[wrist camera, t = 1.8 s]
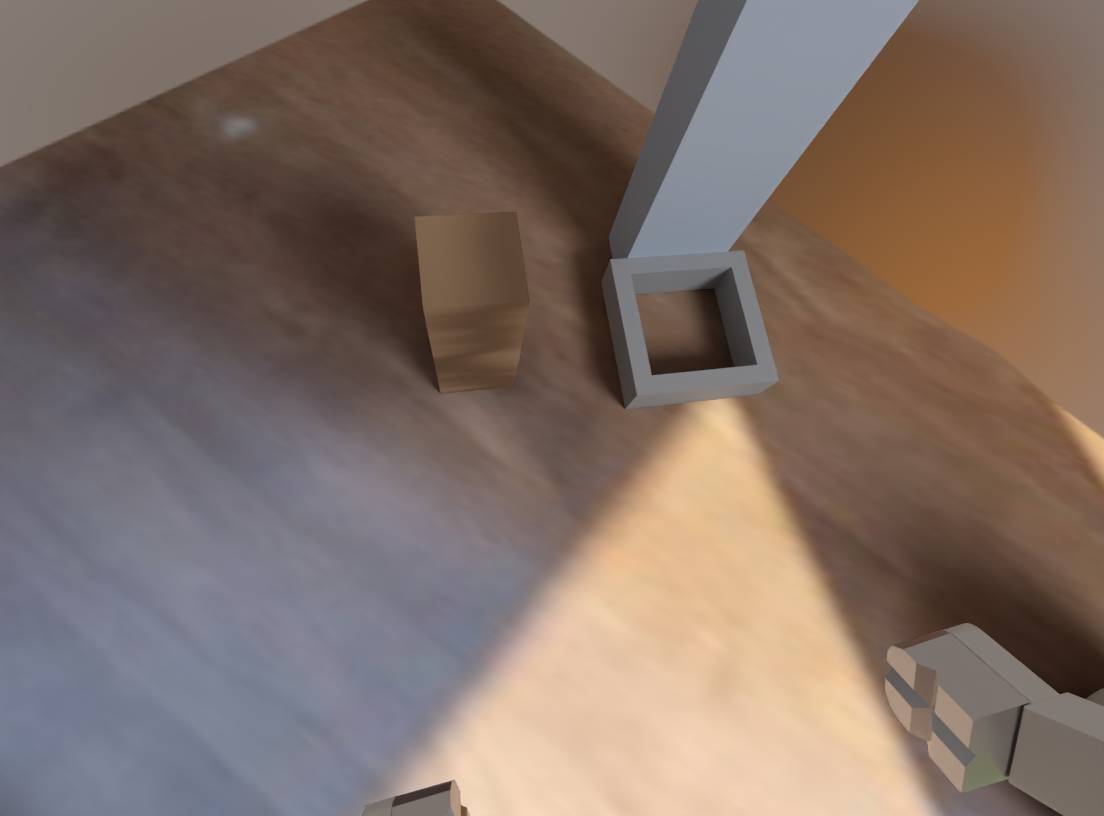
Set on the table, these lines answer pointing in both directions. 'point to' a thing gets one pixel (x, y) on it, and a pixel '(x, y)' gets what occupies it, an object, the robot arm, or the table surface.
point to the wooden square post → (473, 297)
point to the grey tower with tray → (728, 171)
